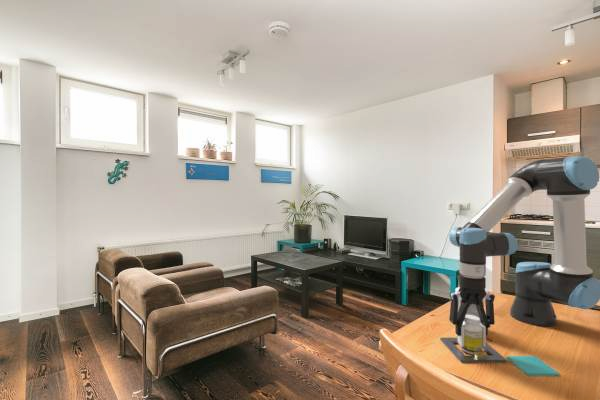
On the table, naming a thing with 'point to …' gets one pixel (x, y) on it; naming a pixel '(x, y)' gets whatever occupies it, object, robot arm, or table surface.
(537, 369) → the coaster
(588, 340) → the table surface
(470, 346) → the pill bottle
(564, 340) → the table surface
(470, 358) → the socket plate
